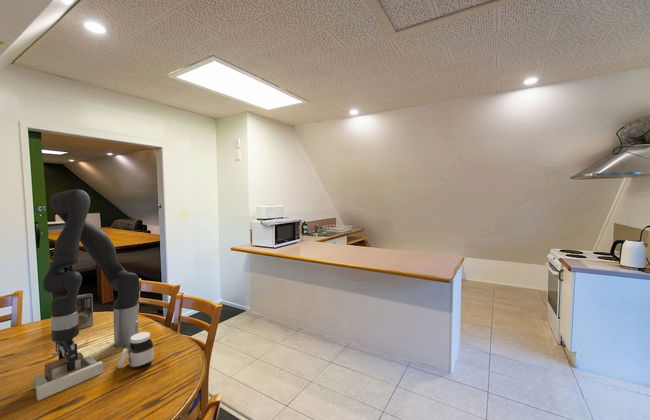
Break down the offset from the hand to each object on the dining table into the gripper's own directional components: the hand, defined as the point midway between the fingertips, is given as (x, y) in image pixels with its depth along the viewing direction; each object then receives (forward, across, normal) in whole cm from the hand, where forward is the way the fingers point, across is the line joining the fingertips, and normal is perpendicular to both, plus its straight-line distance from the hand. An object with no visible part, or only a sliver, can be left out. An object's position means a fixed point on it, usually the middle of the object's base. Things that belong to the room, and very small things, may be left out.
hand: (67, 366), depth 105 cm
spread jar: (+5, +12, +18) cm, 22 cm away
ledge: (+4, +3, 0) cm, 5 cm away
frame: (+4, -1, 0) cm, 4 cm away
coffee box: (+4, -48, +19) cm, 52 cm away
